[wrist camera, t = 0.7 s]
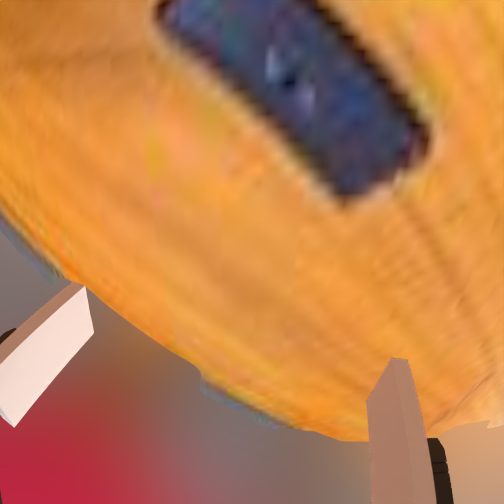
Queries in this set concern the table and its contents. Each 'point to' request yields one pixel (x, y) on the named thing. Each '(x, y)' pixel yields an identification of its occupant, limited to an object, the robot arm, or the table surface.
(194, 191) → the table surface
